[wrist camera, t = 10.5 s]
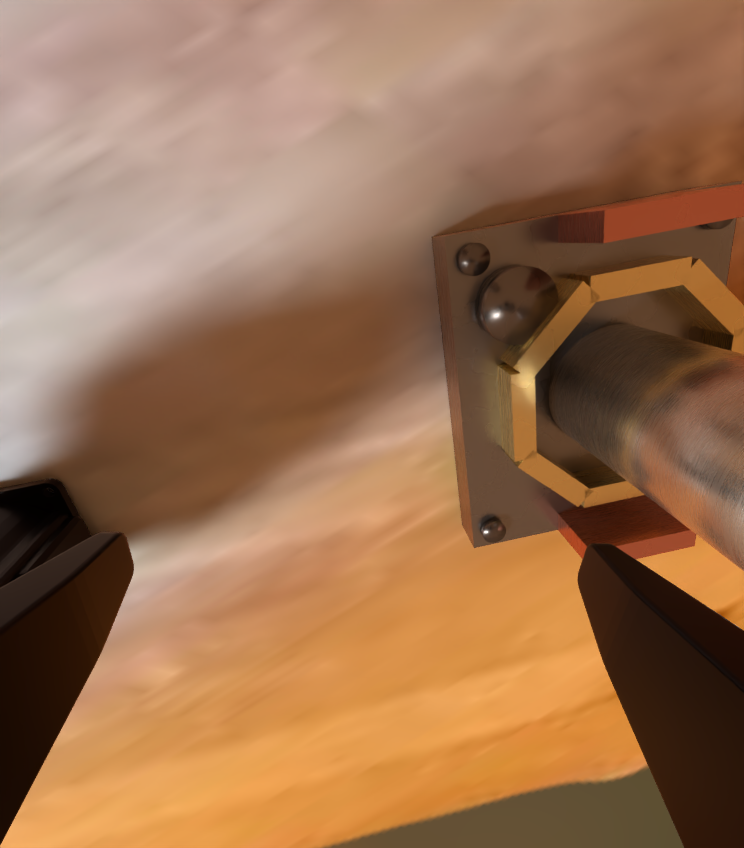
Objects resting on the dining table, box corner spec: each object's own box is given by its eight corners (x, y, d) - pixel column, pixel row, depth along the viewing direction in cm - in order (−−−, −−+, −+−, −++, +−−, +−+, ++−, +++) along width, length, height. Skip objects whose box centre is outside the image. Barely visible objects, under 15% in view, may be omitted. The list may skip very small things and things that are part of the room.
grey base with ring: (462, 524, 25) (495, 590, 20) (431, 236, 19) (469, 235, 14) (671, 480, 25) (750, 533, 20) (706, 185, 19) (829, 168, 15)
